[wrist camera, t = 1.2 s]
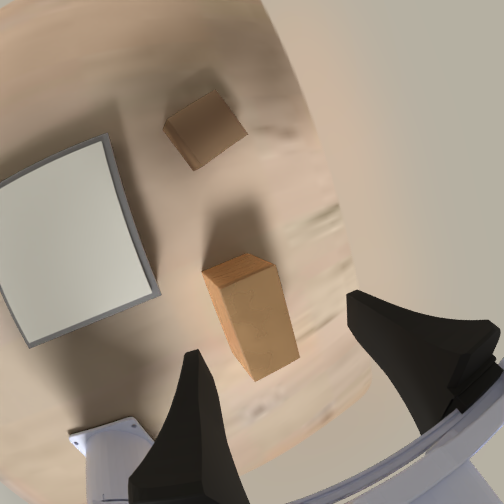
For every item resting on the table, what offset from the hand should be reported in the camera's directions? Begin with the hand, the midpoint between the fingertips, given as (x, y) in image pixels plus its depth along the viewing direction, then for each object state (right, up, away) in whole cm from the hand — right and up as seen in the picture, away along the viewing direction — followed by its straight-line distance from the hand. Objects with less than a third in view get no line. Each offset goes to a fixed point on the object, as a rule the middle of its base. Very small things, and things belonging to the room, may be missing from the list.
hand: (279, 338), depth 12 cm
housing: (-2, -1, +11) cm, 12 cm away
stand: (-15, +5, +5) cm, 16 cm away
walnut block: (-5, +13, +8) cm, 16 cm away
